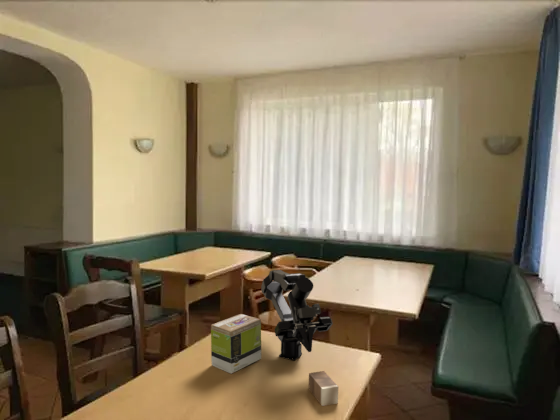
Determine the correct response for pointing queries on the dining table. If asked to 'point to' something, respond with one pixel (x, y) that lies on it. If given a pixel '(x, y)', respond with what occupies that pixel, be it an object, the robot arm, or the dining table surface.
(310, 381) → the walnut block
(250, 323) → the tea box
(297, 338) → the robot arm
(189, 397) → the dining table surface
